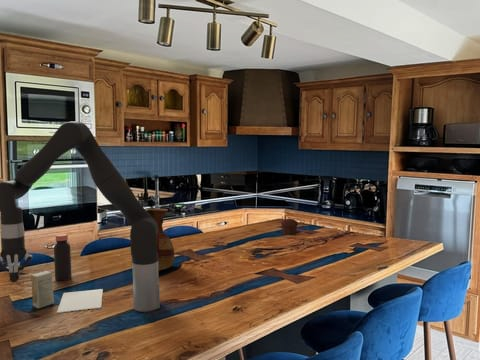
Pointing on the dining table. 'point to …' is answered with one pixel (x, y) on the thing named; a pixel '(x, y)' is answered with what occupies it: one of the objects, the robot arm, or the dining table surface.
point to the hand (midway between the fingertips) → (14, 281)
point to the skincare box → (42, 289)
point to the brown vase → (162, 240)
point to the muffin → (289, 226)
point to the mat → (80, 300)
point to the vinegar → (62, 258)
